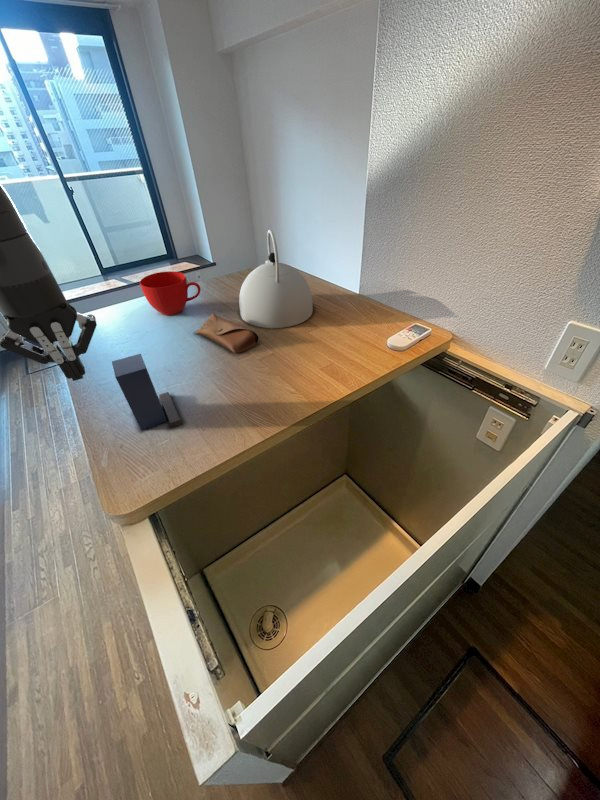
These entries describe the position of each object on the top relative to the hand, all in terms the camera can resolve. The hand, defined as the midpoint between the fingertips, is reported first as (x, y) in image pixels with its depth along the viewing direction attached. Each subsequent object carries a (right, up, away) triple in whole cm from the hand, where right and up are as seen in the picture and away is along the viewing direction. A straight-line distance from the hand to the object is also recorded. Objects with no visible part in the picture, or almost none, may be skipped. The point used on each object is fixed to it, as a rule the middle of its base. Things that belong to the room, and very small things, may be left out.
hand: (78, 377), depth 54 cm
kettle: (+30, +25, +48) cm, 62 cm away
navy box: (+7, -7, +12) cm, 16 cm away
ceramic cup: (-1, +24, +48) cm, 54 cm away
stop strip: (+10, -6, +13) cm, 18 cm away
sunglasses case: (+17, +13, +35) cm, 41 cm away
